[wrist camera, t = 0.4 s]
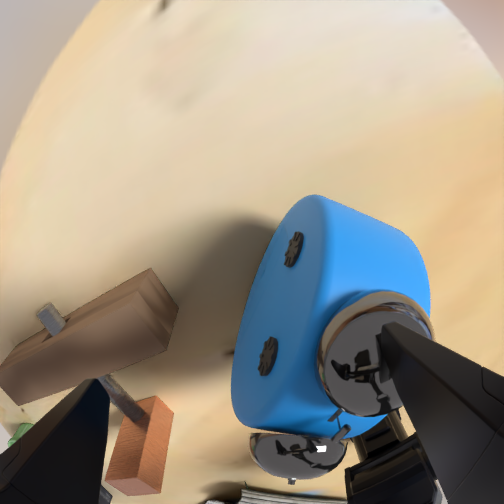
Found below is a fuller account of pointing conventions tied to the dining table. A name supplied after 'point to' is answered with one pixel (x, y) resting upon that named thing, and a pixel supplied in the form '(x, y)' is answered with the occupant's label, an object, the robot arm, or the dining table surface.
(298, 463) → the alarm clock
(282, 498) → the mat
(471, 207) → the dining table surface
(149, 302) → the beam
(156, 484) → the pin
